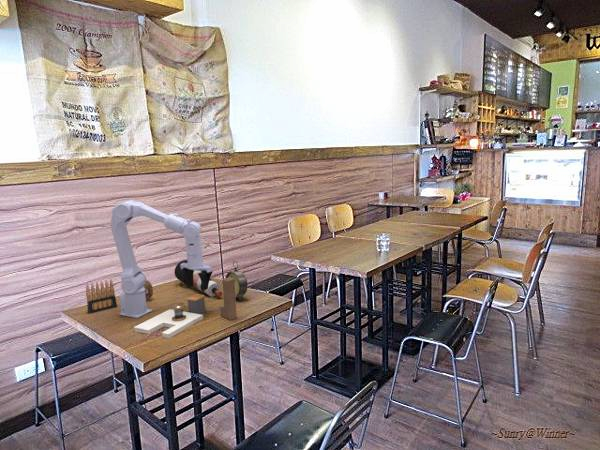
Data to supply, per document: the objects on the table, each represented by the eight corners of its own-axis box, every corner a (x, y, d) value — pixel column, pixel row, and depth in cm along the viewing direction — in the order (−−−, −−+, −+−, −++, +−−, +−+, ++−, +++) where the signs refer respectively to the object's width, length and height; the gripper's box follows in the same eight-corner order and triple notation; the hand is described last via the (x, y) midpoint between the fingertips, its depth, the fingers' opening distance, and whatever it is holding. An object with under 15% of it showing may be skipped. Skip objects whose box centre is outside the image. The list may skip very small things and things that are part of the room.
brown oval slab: (125, 296, 189) (123, 278, 188) (131, 294, 192) (129, 276, 190) (149, 301, 181) (147, 282, 180) (155, 299, 184) (153, 280, 183)
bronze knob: (169, 320, 157) (167, 307, 156) (178, 315, 161) (177, 302, 160) (179, 322, 155) (178, 308, 154) (189, 316, 159) (187, 304, 158)
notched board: (134, 331, 152) (133, 327, 152) (170, 312, 168) (169, 309, 168) (168, 338, 145) (168, 334, 145) (203, 318, 161) (202, 314, 161)
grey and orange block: (188, 314, 166) (187, 298, 164) (197, 309, 170) (195, 293, 169) (197, 315, 164) (195, 299, 163) (205, 311, 168) (204, 295, 167)
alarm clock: (225, 297, 183) (222, 260, 180) (236, 294, 187) (233, 257, 184) (240, 303, 175) (237, 264, 172) (250, 299, 179) (248, 261, 176)
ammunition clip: (115, 305, 178) (112, 277, 176) (117, 307, 177) (113, 278, 175) (87, 312, 172) (83, 283, 170) (88, 314, 170) (85, 284, 168)
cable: (216, 310, 181) (205, 293, 176) (180, 284, 206) (170, 268, 201) (234, 295, 185) (224, 277, 180) (197, 271, 211) (188, 255, 205)
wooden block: (237, 317, 160) (234, 278, 158) (229, 320, 158) (226, 281, 156) (228, 313, 165) (225, 275, 163) (220, 315, 163) (217, 277, 160)
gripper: (216, 252, 163) (219, 287, 166) (188, 250, 171) (191, 283, 173) (203, 257, 157) (206, 293, 160) (174, 254, 165) (178, 288, 167)
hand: (198, 288), depth 166 cm, fingers open, 7 cm apart
